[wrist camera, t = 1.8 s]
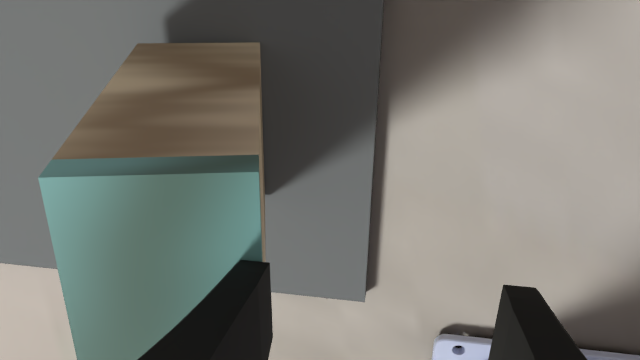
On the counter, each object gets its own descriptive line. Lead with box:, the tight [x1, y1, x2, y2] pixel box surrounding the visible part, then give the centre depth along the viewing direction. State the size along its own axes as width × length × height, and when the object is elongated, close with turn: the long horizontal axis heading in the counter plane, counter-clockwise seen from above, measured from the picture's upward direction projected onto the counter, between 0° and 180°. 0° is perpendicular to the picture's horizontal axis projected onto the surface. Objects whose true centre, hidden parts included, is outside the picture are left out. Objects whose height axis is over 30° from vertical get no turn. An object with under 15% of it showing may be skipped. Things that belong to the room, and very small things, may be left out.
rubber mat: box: [0, 0, 384, 302], centre depth 23 cm, size 18×15×1 cm
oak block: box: [38, 42, 266, 360], centre depth 17 cm, size 4×6×10 cm, turn 179°
